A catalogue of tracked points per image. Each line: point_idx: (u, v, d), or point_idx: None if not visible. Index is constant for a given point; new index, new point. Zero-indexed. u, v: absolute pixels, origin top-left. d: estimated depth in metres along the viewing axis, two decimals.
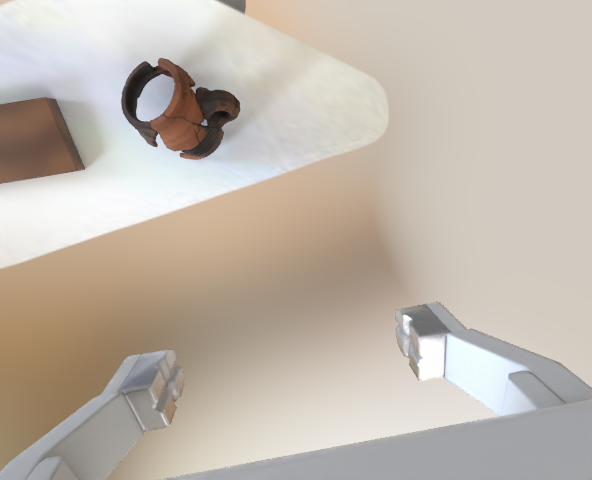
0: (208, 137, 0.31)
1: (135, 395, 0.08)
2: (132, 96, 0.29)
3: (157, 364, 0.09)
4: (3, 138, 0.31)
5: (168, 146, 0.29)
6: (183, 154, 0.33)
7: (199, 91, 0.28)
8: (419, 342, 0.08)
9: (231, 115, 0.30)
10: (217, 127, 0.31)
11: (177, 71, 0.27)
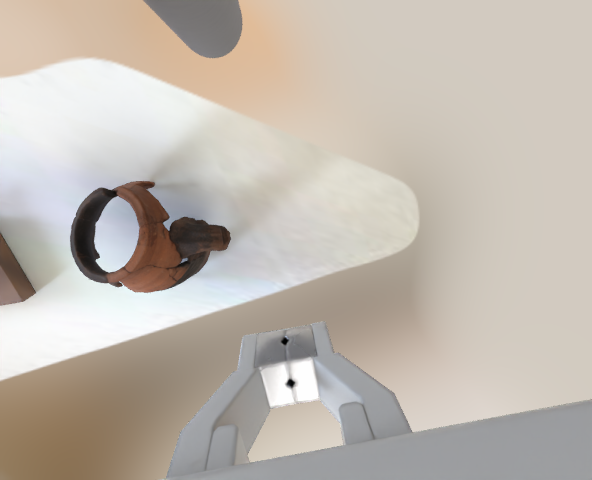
0: (190, 270, 0.24)
1: (269, 371, 0.08)
2: (86, 229, 0.21)
3: (280, 342, 0.09)
4: None
5: (135, 291, 0.22)
6: None
7: (175, 228, 0.21)
8: (287, 366, 0.08)
9: None
10: (201, 255, 0.24)
11: (143, 209, 0.19)
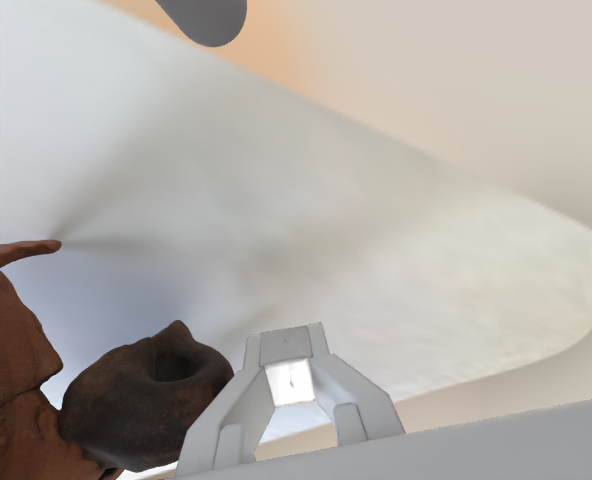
0: None
1: (275, 370, 0.08)
2: None
3: (285, 341, 0.09)
4: None
5: None
6: None
7: (76, 401, 0.07)
8: (283, 367, 0.08)
9: None
10: None
11: None
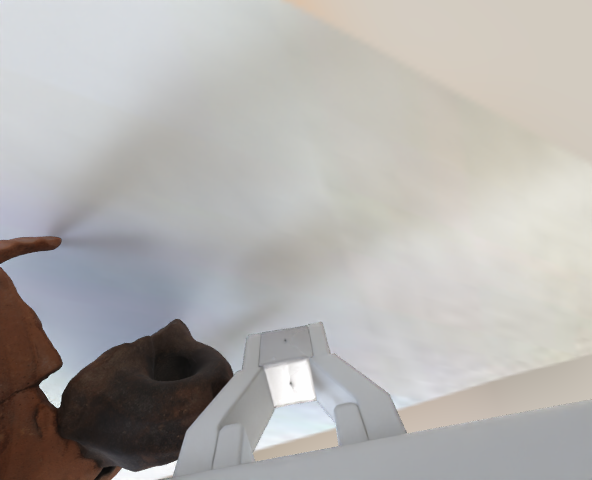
0: None
1: (274, 370, 0.08)
2: None
3: (285, 341, 0.09)
4: None
5: None
6: None
7: (75, 399, 0.07)
8: (283, 367, 0.08)
9: None
10: None
11: None
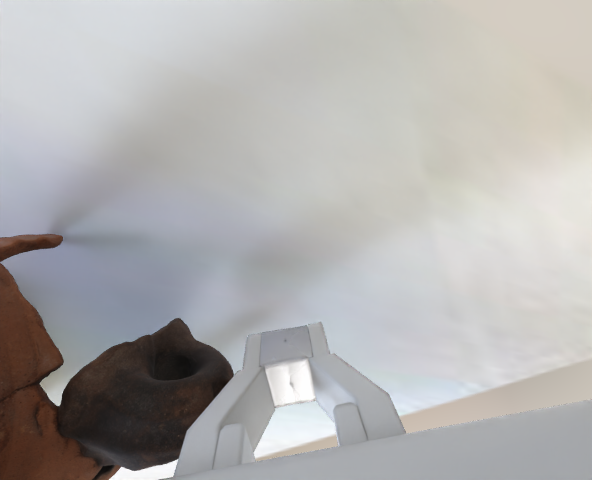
0: None
1: (274, 370, 0.08)
2: None
3: (285, 341, 0.09)
4: None
5: None
6: None
7: (76, 398, 0.07)
8: (283, 367, 0.08)
9: None
10: None
11: None
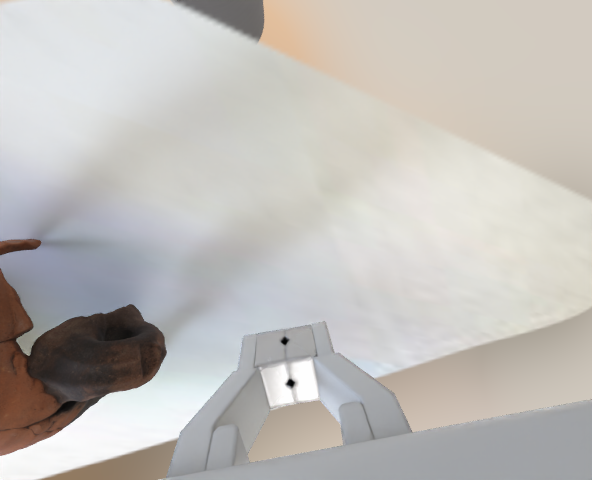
0: (96, 399, 0.13)
1: (269, 371, 0.08)
2: None
3: (280, 342, 0.09)
4: None
5: None
6: None
7: (41, 350, 0.10)
8: (287, 366, 0.08)
9: None
10: None
11: None
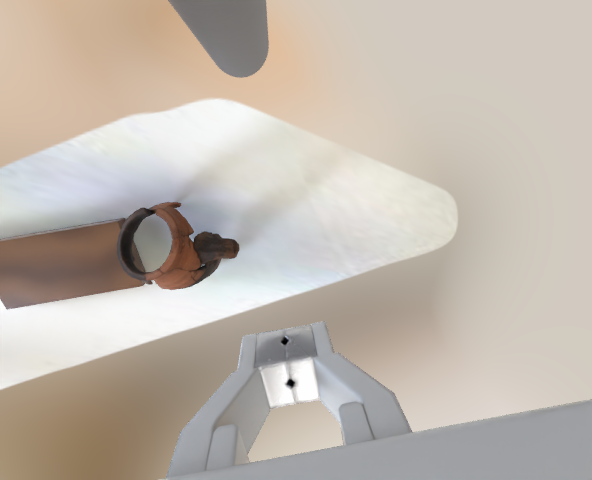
0: (206, 273, 0.30)
1: (269, 371, 0.08)
2: (128, 239, 0.28)
3: (280, 342, 0.09)
4: (71, 259, 0.31)
5: (163, 288, 0.28)
6: None
7: (197, 240, 0.27)
8: (287, 366, 0.08)
9: None
10: (215, 261, 0.30)
11: (175, 226, 0.26)
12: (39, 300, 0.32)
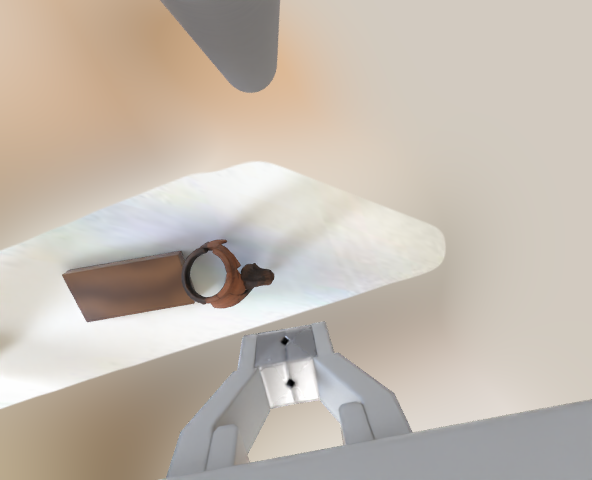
0: (246, 294, 0.38)
1: (269, 371, 0.08)
2: (189, 270, 0.36)
3: (280, 342, 0.09)
4: (140, 283, 0.39)
5: (216, 307, 0.37)
6: None
7: (244, 272, 0.35)
8: (287, 366, 0.08)
9: None
10: None
11: (228, 262, 0.34)
12: (112, 315, 0.40)
